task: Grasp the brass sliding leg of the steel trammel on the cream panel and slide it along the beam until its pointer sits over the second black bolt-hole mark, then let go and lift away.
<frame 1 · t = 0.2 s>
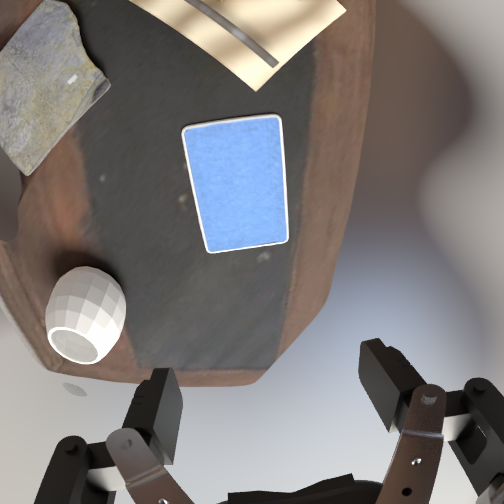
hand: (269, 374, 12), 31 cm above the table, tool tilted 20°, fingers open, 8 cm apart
white faceted vase: (96, 285, 47), on the table
tablet computer: (239, 186, 40), on the table
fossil: (43, 82, 27), on the table
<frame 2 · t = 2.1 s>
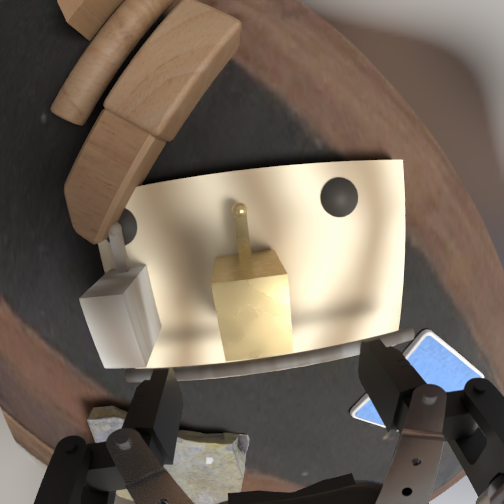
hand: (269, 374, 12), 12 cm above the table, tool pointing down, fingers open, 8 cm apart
wooden block set: (95, 86, 18), on the table, touching cream panel
cream panel: (260, 276, 23), on the table
tablet computer: (425, 391, 29), on the table
sliding leg: (248, 276, 18), point 4 cm above the table, slide at 0.0 cm
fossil: (173, 457, 29), on the table
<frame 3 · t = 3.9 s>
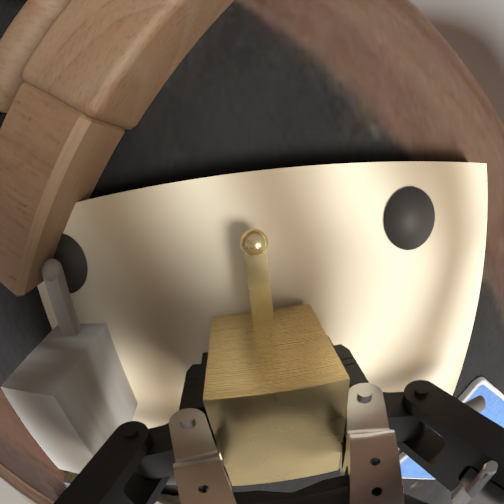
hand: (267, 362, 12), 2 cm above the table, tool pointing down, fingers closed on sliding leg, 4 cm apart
wooden block set: (39, 59, 10), on the table
cream panel: (282, 336, 14), on the table
tablet computer: (462, 436, 21), on the table
sliding leg: (269, 361, 10), point 4 cm above the table, slide at 0.0 cm, touching gripper
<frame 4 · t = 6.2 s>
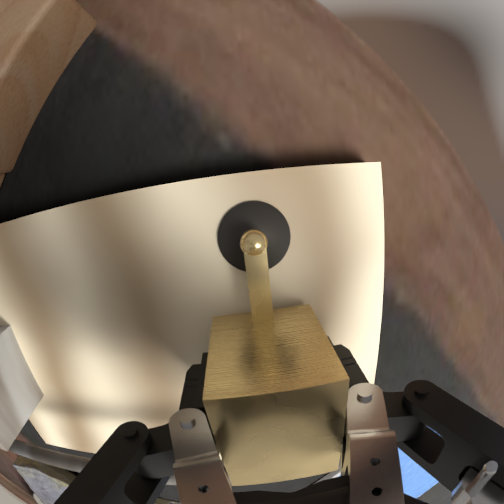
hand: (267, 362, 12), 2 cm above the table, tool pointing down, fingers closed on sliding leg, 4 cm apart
cream panel: (149, 349, 14), on the table
tablet computer: (411, 460, 21), on the table
sliding leg: (269, 361, 10), point 4 cm above the table, slide at 6.9 cm, touching gripper
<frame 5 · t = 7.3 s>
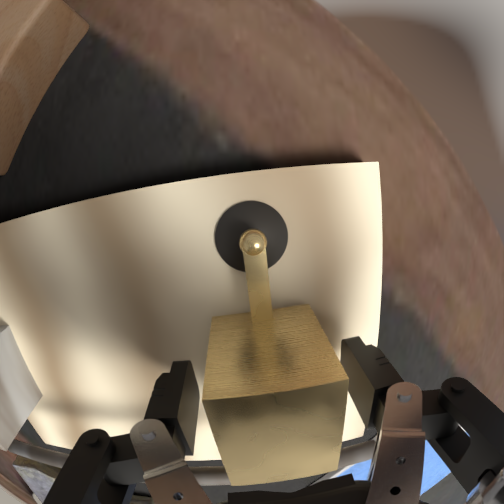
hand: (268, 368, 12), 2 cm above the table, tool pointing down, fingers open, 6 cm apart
cream panel: (147, 349, 14), on the table
tablet computer: (410, 460, 21), on the table
sliding leg: (269, 361, 10), point 4 cm above the table, slide at 7.0 cm
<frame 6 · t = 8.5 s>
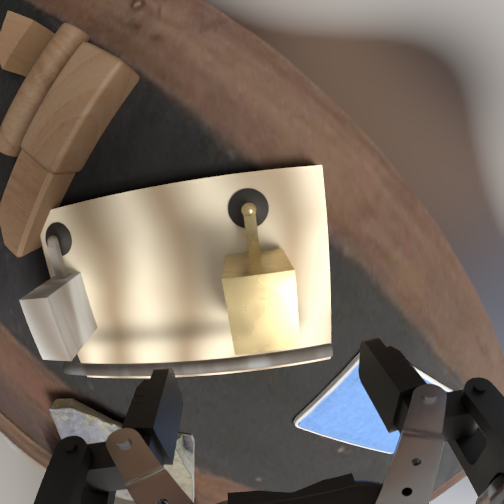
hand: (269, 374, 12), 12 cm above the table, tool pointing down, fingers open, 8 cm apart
wooden block set: (32, 119, 20), on the table
cream panel: (181, 285, 23), on the table
tablet computer: (382, 405, 29), on the table
sliding leg: (257, 272, 19), point 4 cm above the table, slide at 7.0 cm
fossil: (131, 452, 30), on the table
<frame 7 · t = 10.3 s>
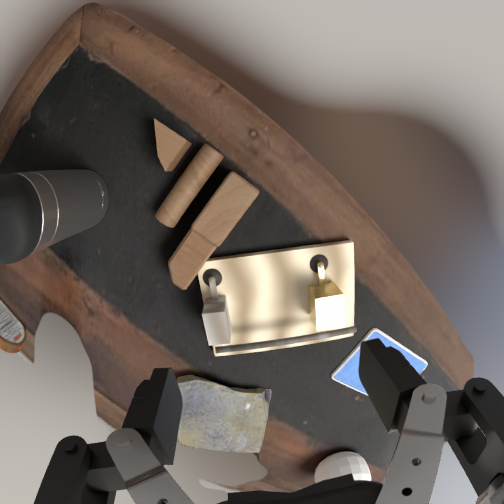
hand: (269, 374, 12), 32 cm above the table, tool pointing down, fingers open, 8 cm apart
wooden block set: (177, 200, 42), on the table, touching cream panel
cream panel: (280, 299, 46), on the table
tin: (9, 311, 45), on the table
white faceted vase: (336, 459, 59), on the table
tablet computer: (381, 368, 52), on the table
sliding leg: (325, 294, 41), point 4 cm above the table, slide at 7.0 cm
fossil: (222, 410, 52), on the table
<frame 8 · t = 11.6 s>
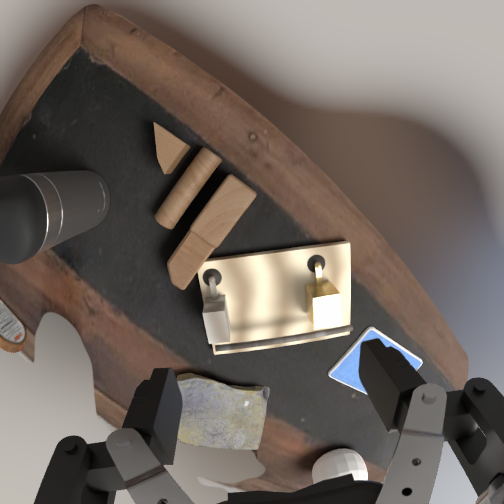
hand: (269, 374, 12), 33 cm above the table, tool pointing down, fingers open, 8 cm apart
wooden block set: (176, 202, 43), on the table
cream panel: (278, 299, 47), on the table
tin: (9, 311, 45), on the table
white faceted vase: (333, 456, 60), on the table
tablet computer: (377, 366, 53), on the table
sliding leg: (322, 294, 42), point 4 cm above the table, slide at 7.0 cm
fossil: (221, 407, 53), on the table
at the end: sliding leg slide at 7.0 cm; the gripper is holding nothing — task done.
